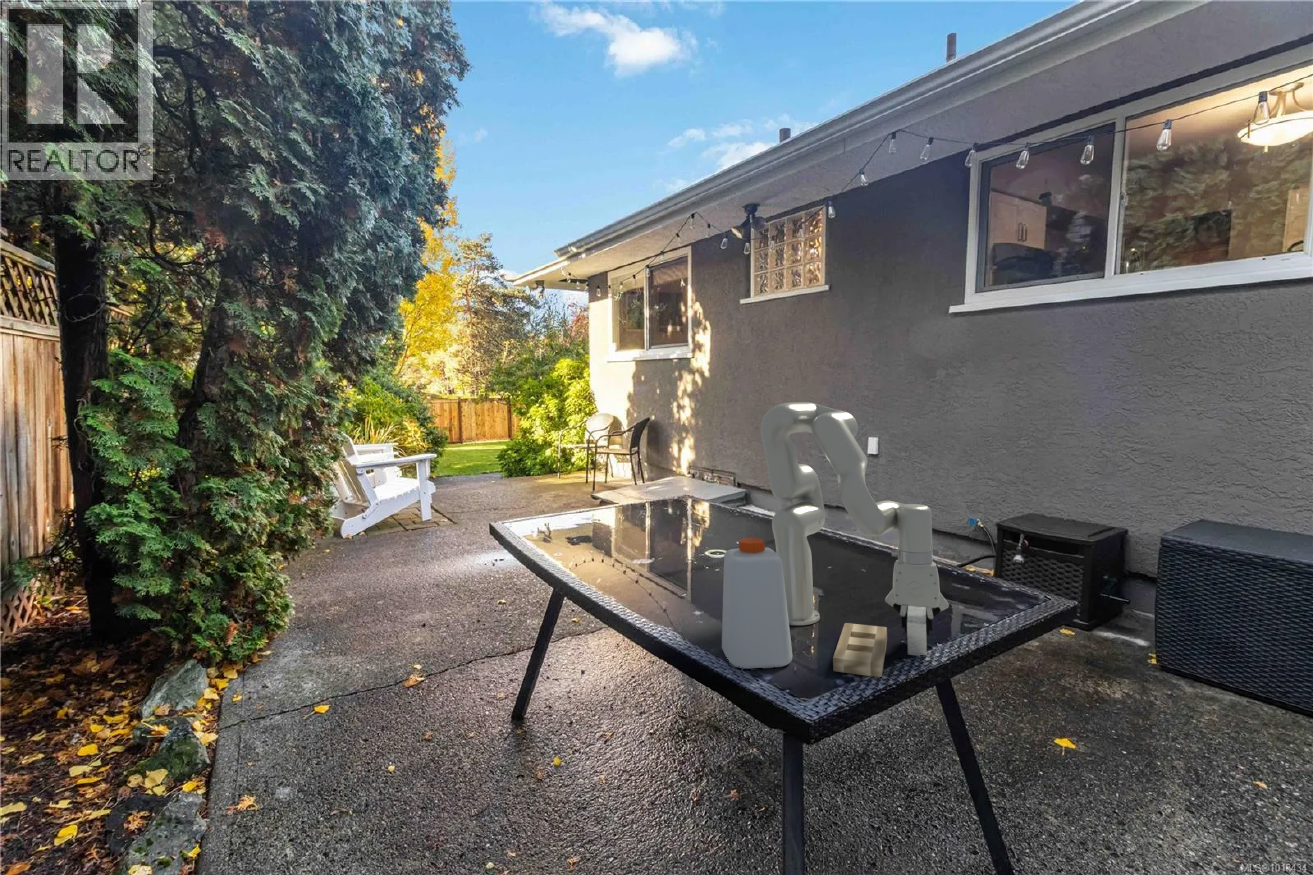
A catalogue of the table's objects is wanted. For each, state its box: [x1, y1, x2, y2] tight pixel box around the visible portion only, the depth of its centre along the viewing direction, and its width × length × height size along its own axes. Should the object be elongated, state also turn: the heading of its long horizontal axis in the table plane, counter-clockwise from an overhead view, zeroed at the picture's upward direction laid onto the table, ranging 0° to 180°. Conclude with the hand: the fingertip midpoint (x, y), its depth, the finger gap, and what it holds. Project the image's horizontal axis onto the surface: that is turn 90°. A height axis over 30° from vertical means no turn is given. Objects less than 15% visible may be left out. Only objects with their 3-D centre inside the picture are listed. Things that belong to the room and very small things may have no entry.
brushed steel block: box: [906, 606, 928, 657], centre depth 138 cm, size 4×12×8 cm, turn 155°
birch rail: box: [832, 622, 888, 678], centre depth 136 cm, size 10×22×3 cm, turn 155°
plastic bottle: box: [721, 537, 793, 669], centre depth 137 cm, size 15×15×28 cm
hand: (917, 631), depth 138 cm, fingers closed on brushed steel block, 4 cm apart
